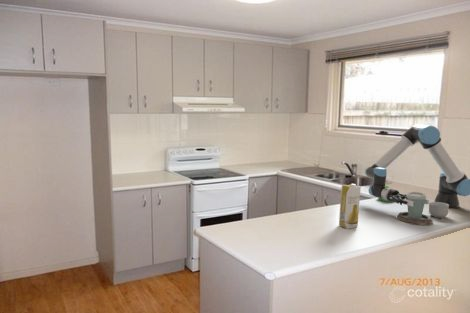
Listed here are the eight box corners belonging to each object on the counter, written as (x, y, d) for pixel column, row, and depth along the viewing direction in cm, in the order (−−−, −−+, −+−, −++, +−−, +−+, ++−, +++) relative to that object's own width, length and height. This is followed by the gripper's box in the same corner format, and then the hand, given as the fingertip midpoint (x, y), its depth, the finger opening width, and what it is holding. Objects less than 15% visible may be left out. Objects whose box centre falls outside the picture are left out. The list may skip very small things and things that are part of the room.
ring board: (411, 214, 233) (411, 210, 233) (439, 222, 216) (440, 218, 216) (389, 217, 225) (390, 213, 224) (417, 226, 208) (418, 222, 208)
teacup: (450, 219, 224) (451, 206, 222) (430, 218, 226) (432, 205, 225) (442, 213, 237) (443, 201, 236) (423, 212, 239) (425, 199, 238)
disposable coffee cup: (423, 222, 213) (425, 196, 211) (402, 218, 219) (405, 193, 217) (425, 217, 222) (427, 193, 220) (405, 214, 228) (407, 190, 226)
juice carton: (346, 229, 198) (350, 185, 195) (336, 225, 205) (339, 182, 202) (359, 227, 202) (363, 184, 199) (349, 223, 209) (352, 181, 206)
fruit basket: (395, 200, 268) (396, 185, 266) (393, 203, 260) (394, 187, 259) (378, 198, 274) (379, 182, 272) (376, 200, 266) (377, 184, 265)
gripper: (403, 199, 241) (434, 207, 222) (376, 202, 230) (405, 211, 211) (404, 187, 240) (435, 195, 221) (377, 190, 229) (406, 198, 210)
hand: (420, 203), depth 216 cm, fingers open, 13 cm apart
